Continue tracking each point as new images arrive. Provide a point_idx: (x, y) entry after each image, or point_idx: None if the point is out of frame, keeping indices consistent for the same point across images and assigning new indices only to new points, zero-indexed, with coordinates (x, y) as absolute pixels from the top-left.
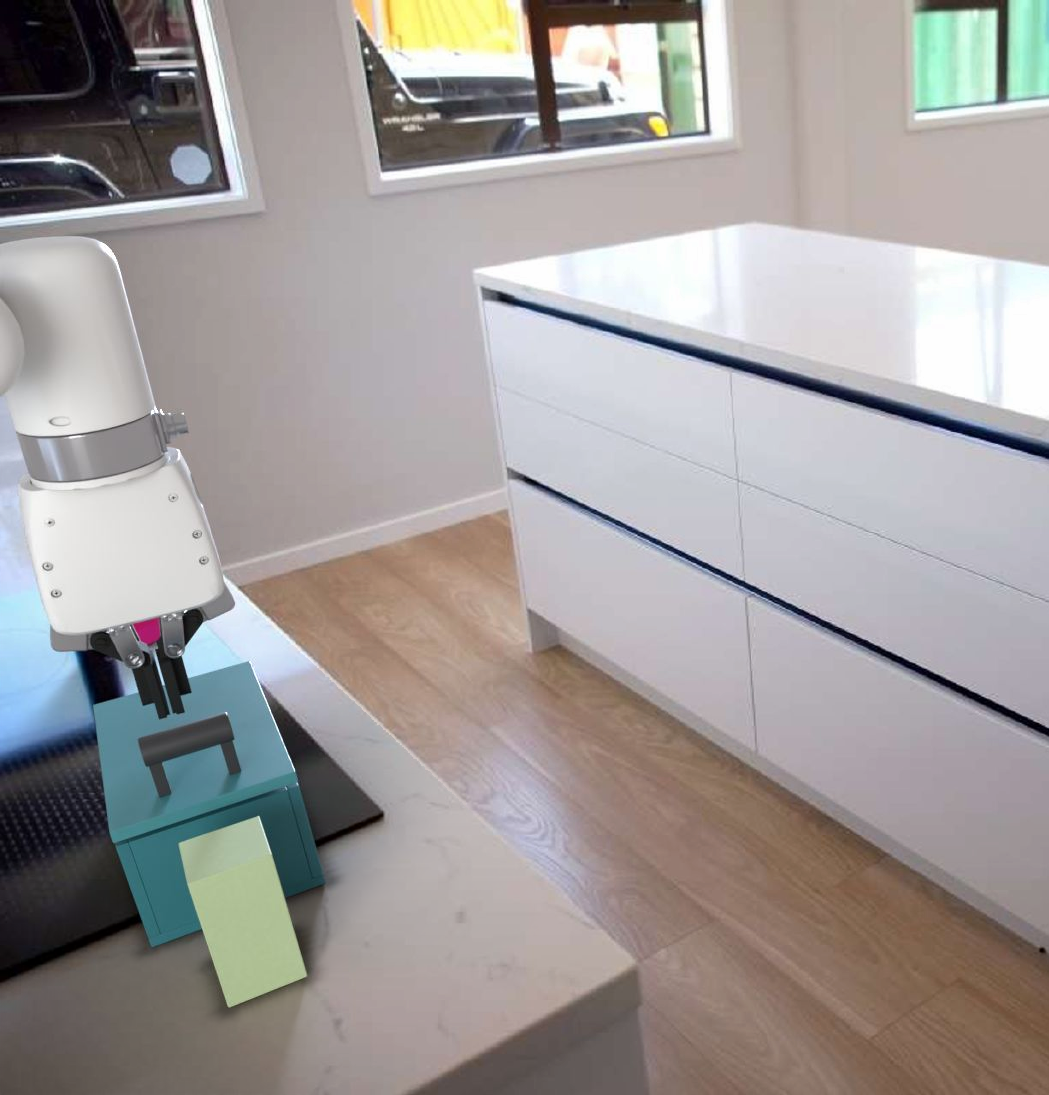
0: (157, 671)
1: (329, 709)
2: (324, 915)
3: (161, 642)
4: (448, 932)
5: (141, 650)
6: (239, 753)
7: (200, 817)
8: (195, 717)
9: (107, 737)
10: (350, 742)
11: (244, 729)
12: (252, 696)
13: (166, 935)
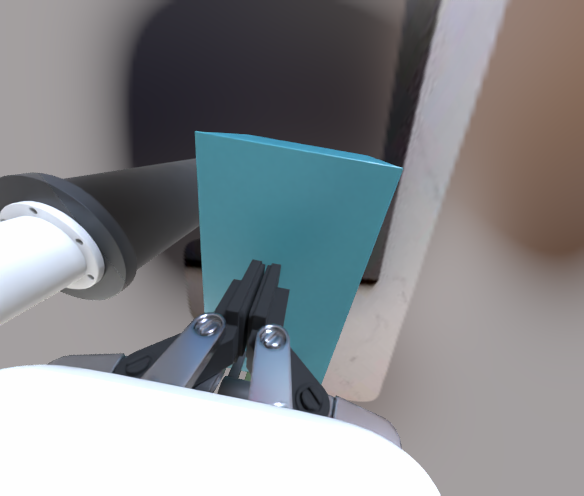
0: (244, 351)
1: (458, 92)
2: None
3: (251, 365)
4: (343, 361)
5: (218, 381)
6: (299, 347)
7: None
8: (290, 268)
9: (209, 240)
10: (423, 181)
11: (317, 321)
12: (351, 272)
13: None
